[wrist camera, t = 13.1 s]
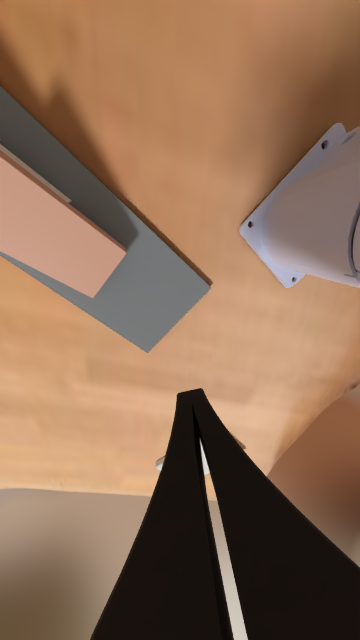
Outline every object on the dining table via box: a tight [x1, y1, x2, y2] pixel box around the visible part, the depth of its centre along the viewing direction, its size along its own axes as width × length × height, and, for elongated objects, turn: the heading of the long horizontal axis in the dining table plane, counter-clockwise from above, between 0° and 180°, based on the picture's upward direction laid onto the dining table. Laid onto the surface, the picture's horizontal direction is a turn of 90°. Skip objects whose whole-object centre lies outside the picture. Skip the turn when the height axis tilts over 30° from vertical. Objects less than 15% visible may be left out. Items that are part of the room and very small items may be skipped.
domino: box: [0, 150, 127, 298], centre depth 13 cm, size 5×2×9 cm
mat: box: [0, 86, 211, 353], centre depth 14 cm, size 10×32×1 cm, turn 48°
